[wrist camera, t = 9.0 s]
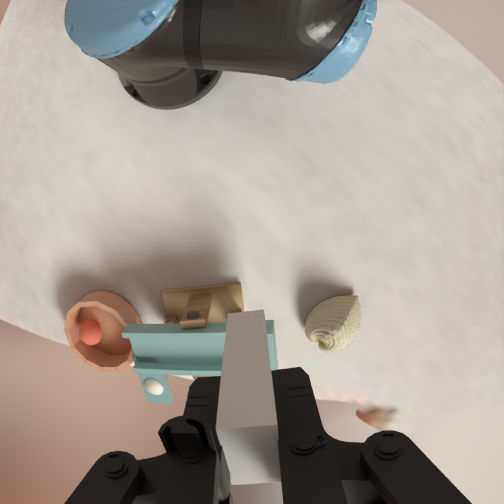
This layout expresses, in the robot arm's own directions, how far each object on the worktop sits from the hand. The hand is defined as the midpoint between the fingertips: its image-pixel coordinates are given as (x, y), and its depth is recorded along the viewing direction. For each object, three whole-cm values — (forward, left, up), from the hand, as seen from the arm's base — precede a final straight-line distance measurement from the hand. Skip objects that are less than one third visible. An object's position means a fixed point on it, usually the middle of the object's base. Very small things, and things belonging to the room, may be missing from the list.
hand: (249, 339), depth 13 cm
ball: (+15, -26, -31) cm, 43 cm away
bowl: (+15, -25, -32) cm, 44 cm away
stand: (+15, -8, -32) cm, 37 cm away
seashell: (+18, +12, -33) cm, 39 cm away
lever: (+19, -8, -25) cm, 32 cm away
